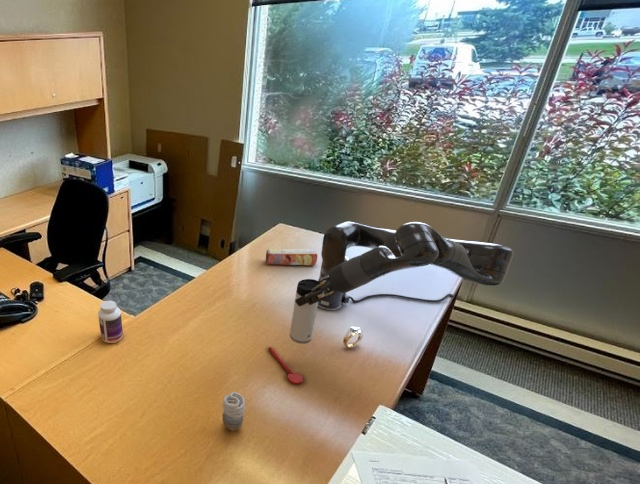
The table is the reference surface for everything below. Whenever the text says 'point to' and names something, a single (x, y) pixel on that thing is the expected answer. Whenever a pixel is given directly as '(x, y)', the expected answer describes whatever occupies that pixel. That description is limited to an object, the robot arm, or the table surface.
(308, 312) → the travel mug
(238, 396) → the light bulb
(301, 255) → the snack package
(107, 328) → the pill bottle
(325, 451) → the table surface
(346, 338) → the ring
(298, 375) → the spoon
